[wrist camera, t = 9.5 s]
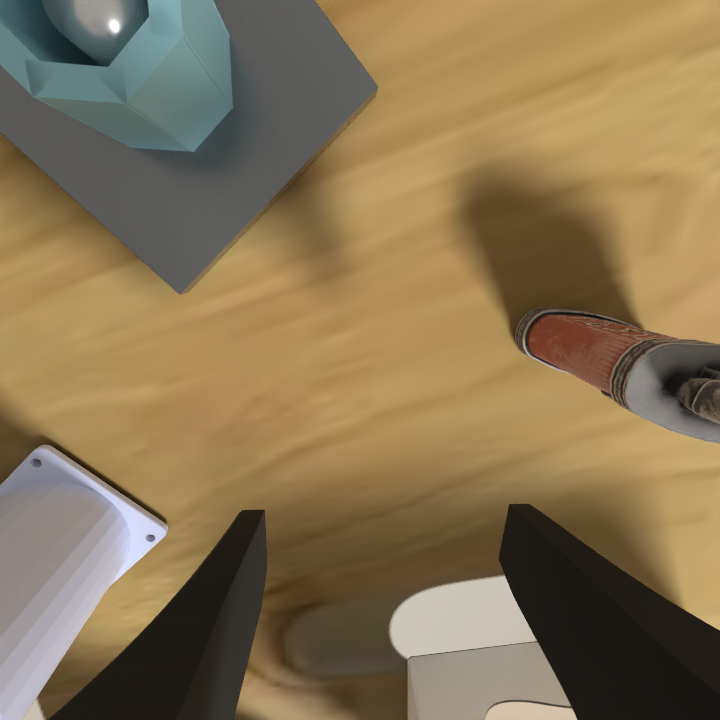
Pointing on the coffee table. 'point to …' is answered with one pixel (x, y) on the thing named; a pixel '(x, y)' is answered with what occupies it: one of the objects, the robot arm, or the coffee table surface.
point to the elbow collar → (129, 73)
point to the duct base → (220, 148)
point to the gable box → (486, 685)
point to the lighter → (631, 366)
